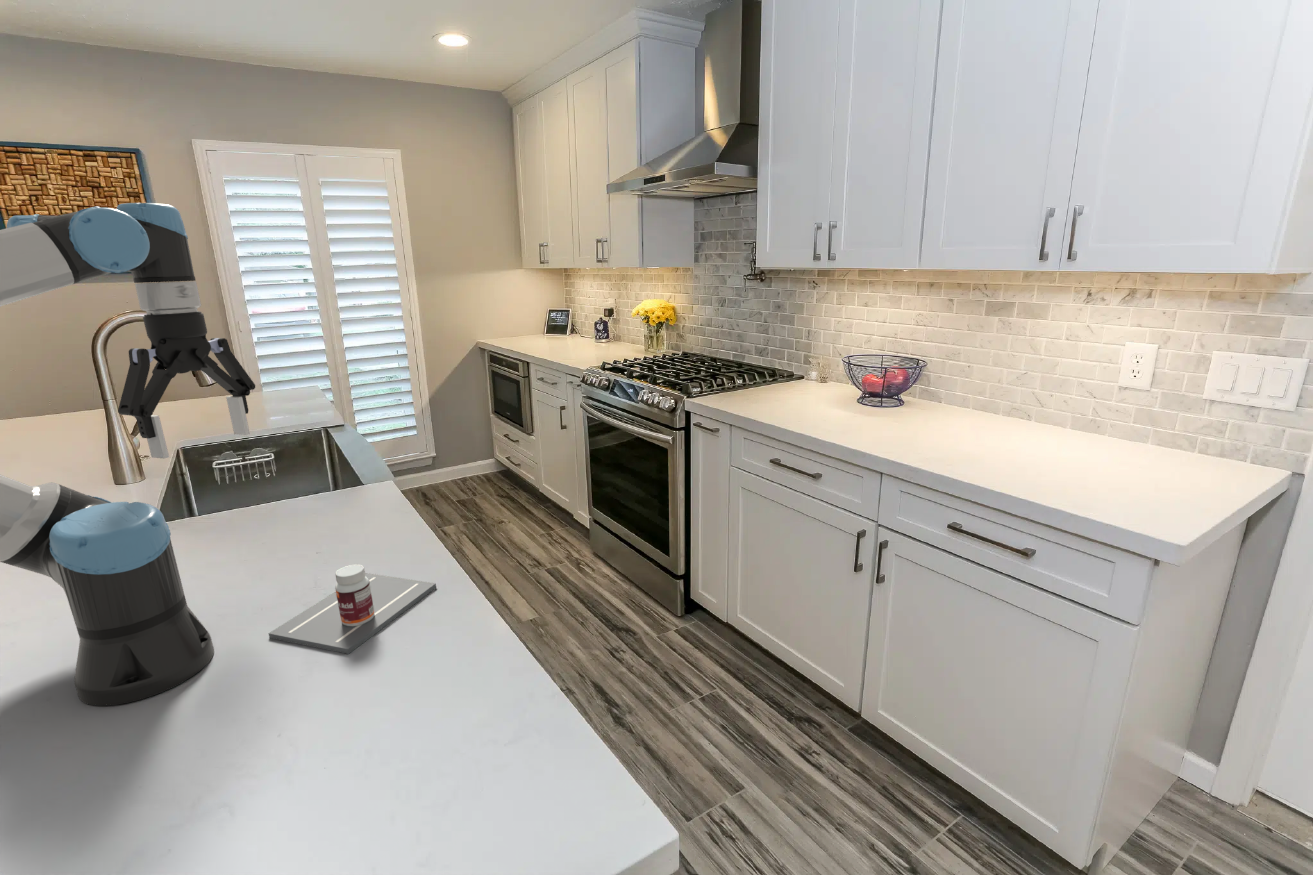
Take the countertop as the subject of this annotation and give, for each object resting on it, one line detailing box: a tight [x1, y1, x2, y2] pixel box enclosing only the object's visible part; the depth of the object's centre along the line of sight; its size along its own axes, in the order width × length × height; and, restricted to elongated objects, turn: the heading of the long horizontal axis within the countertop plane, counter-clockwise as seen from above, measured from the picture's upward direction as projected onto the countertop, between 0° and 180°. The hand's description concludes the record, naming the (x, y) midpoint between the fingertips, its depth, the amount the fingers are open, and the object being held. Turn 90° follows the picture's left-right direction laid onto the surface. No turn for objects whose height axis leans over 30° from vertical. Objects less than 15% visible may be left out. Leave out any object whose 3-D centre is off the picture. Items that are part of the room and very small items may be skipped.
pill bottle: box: [334, 563, 374, 626], centre depth 98 cm, size 5×5×8 cm
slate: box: [268, 572, 437, 655], centre depth 103 cm, size 20×15×1 cm
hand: (203, 445), depth 103 cm, fingers open, 13 cm apart
